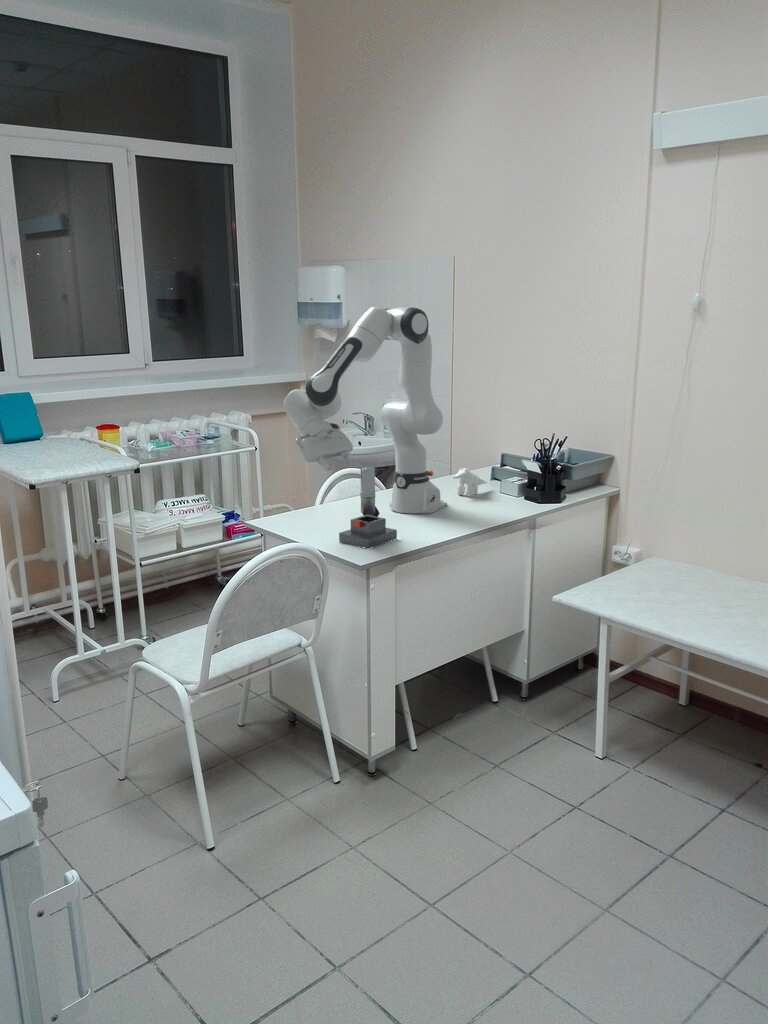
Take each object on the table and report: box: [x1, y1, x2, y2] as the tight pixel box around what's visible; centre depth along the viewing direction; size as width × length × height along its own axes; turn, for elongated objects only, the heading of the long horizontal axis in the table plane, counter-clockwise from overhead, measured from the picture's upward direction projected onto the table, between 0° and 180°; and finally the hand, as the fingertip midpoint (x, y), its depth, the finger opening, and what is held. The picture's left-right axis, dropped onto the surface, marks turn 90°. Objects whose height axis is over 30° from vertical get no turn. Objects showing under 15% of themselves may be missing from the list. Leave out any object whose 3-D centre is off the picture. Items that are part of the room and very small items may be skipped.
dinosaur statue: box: [452, 467, 488, 497], centre depth 319 cm, size 7×24×11 cm, turn 139°
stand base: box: [338, 515, 398, 549], centre depth 257 cm, size 14×12×8 cm
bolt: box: [362, 505, 380, 517], centre depth 276 cm, size 6×5×15 cm
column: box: [359, 466, 376, 515], centre depth 254 cm, size 5×5×14 cm
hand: (339, 467), depth 259 cm, fingers open, 8 cm apart
